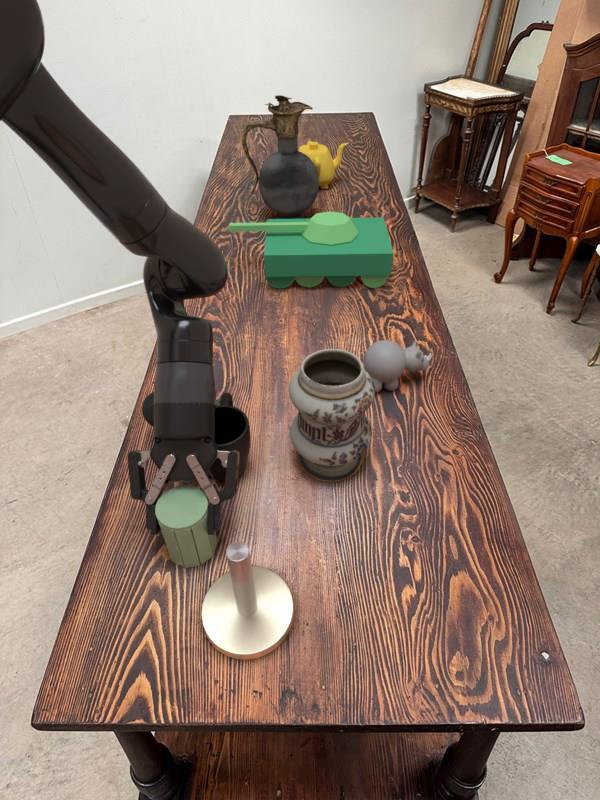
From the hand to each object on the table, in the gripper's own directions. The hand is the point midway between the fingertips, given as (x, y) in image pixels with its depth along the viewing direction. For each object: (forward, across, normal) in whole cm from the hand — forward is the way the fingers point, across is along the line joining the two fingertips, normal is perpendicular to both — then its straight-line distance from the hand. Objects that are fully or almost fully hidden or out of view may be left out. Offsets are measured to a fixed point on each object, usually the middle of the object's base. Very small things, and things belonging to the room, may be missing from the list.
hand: (184, 533), depth 67 cm
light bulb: (-11, -7, +18) cm, 22 cm away
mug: (-8, +3, +16) cm, 18 cm away
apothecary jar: (-8, +19, +16) cm, 26 cm away
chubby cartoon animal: (-21, +31, +29) cm, 47 cm away
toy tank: (-49, +16, +57) cm, 76 cm away
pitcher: (-68, +8, +76) cm, 103 cm away
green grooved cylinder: (+3, 0, +5) cm, 6 cm away
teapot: (-85, +19, +93) cm, 127 cm away
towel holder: (+9, +8, -2) cm, 12 cm away
